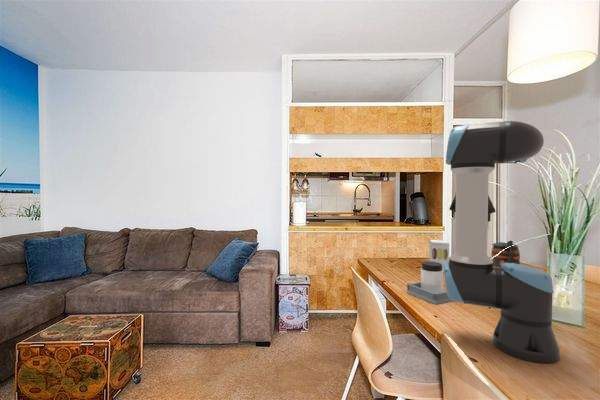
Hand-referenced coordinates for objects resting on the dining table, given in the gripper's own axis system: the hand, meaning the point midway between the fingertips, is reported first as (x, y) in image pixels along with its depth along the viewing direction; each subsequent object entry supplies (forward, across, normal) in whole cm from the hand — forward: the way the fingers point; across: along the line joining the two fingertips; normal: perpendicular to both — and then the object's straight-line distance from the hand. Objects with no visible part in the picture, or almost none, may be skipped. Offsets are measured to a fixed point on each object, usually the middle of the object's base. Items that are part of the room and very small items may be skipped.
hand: (470, 227), depth 136 cm
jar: (+27, +4, +19) cm, 33 cm away
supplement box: (+29, +32, -18) cm, 47 cm away
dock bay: (+29, +2, +20) cm, 35 cm away
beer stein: (+29, +9, -42) cm, 52 cm away
